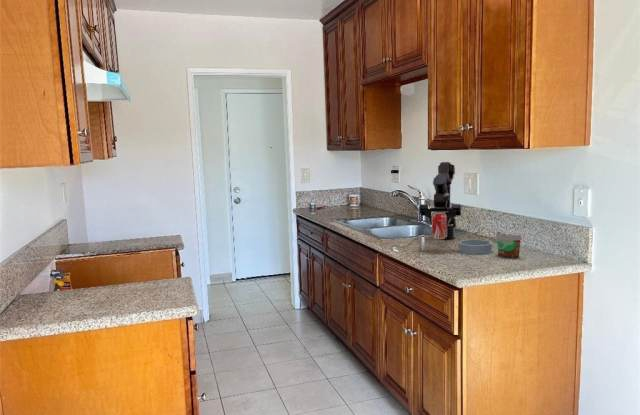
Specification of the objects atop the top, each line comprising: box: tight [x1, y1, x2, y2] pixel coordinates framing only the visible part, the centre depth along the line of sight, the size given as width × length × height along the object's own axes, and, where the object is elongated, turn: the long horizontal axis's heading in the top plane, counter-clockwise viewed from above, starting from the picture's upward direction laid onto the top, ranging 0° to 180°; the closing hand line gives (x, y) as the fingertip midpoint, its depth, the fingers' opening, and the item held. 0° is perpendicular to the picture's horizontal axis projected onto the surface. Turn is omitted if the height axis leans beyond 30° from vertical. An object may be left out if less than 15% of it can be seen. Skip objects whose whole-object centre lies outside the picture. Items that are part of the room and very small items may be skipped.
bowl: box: [457, 238, 493, 256], centre depth 227 cm, size 15×15×4 cm
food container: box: [494, 231, 523, 259], centre depth 214 cm, size 12×6×10 cm, turn 27°
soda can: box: [430, 212, 447, 240], centre depth 227 cm, size 7×7×12 cm
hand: (439, 224), depth 225 cm, fingers closed on soda can, 7 cm apart
